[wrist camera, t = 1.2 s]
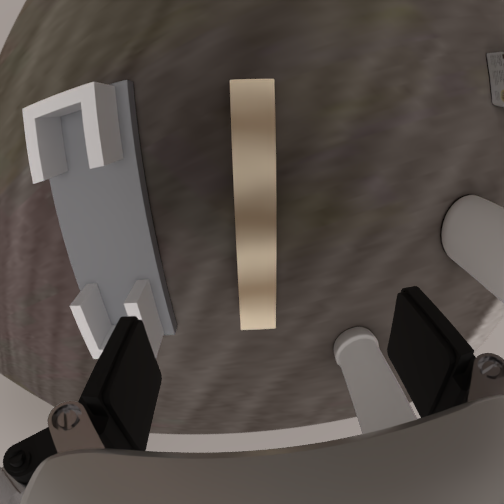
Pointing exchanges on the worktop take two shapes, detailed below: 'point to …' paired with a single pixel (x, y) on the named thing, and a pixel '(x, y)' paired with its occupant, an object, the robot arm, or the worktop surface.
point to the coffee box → (496, 77)
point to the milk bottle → (477, 240)
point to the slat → (255, 199)
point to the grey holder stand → (101, 208)
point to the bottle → (371, 381)
